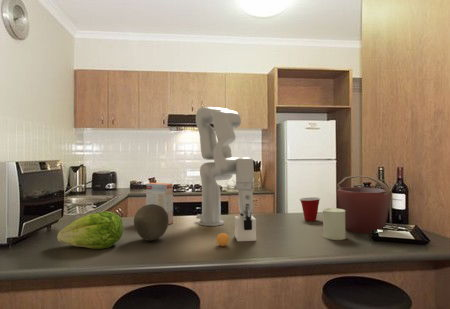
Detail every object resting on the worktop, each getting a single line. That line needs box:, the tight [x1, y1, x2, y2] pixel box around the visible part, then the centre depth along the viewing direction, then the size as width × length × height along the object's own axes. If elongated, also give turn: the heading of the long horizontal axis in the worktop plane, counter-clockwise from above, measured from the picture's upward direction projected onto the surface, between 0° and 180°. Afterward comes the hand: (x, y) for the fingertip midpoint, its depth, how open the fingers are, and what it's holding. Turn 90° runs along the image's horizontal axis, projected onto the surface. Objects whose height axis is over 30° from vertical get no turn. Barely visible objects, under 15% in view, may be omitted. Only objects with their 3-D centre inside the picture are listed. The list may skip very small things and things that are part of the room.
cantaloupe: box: [133, 204, 169, 241], centre depth 127 cm, size 14×14×15 cm
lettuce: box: [56, 210, 124, 250], centre depth 119 cm, size 14×24×15 cm
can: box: [322, 207, 347, 241], centre depth 130 cm, size 9×9×12 cm
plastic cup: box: [299, 197, 321, 222], centre depth 164 cm, size 11×11×12 cm
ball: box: [216, 232, 230, 247], centre depth 118 cm, size 5×5×5 cm
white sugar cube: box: [234, 215, 257, 242], centre depth 129 cm, size 8×8×9 cm
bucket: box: [336, 175, 392, 235], centre depth 143 cm, size 24×22×25 cm
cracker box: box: [145, 182, 174, 226], centre depth 159 cm, size 14×6×21 cm, turn 58°
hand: (245, 227), depth 129 cm, fingers open, 9 cm apart
